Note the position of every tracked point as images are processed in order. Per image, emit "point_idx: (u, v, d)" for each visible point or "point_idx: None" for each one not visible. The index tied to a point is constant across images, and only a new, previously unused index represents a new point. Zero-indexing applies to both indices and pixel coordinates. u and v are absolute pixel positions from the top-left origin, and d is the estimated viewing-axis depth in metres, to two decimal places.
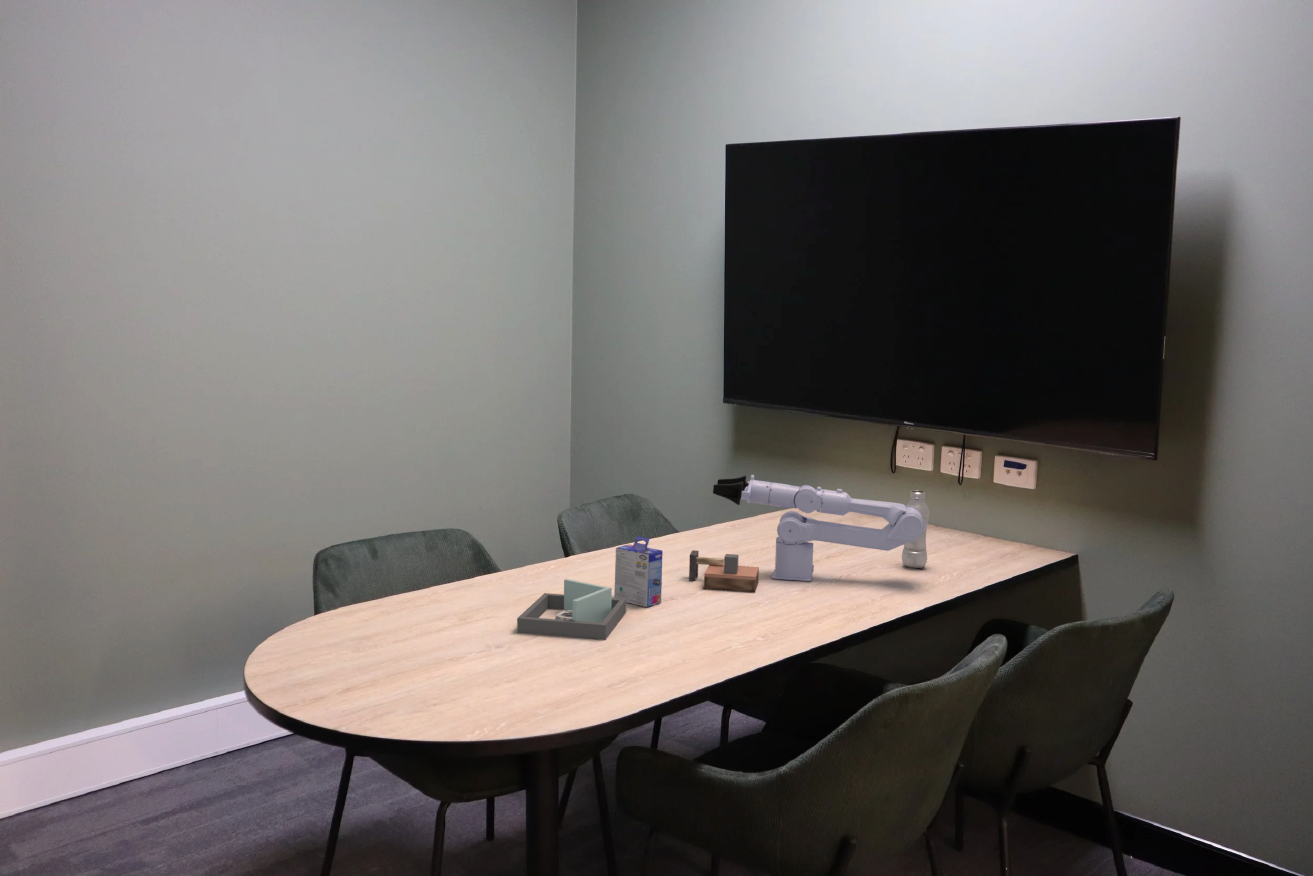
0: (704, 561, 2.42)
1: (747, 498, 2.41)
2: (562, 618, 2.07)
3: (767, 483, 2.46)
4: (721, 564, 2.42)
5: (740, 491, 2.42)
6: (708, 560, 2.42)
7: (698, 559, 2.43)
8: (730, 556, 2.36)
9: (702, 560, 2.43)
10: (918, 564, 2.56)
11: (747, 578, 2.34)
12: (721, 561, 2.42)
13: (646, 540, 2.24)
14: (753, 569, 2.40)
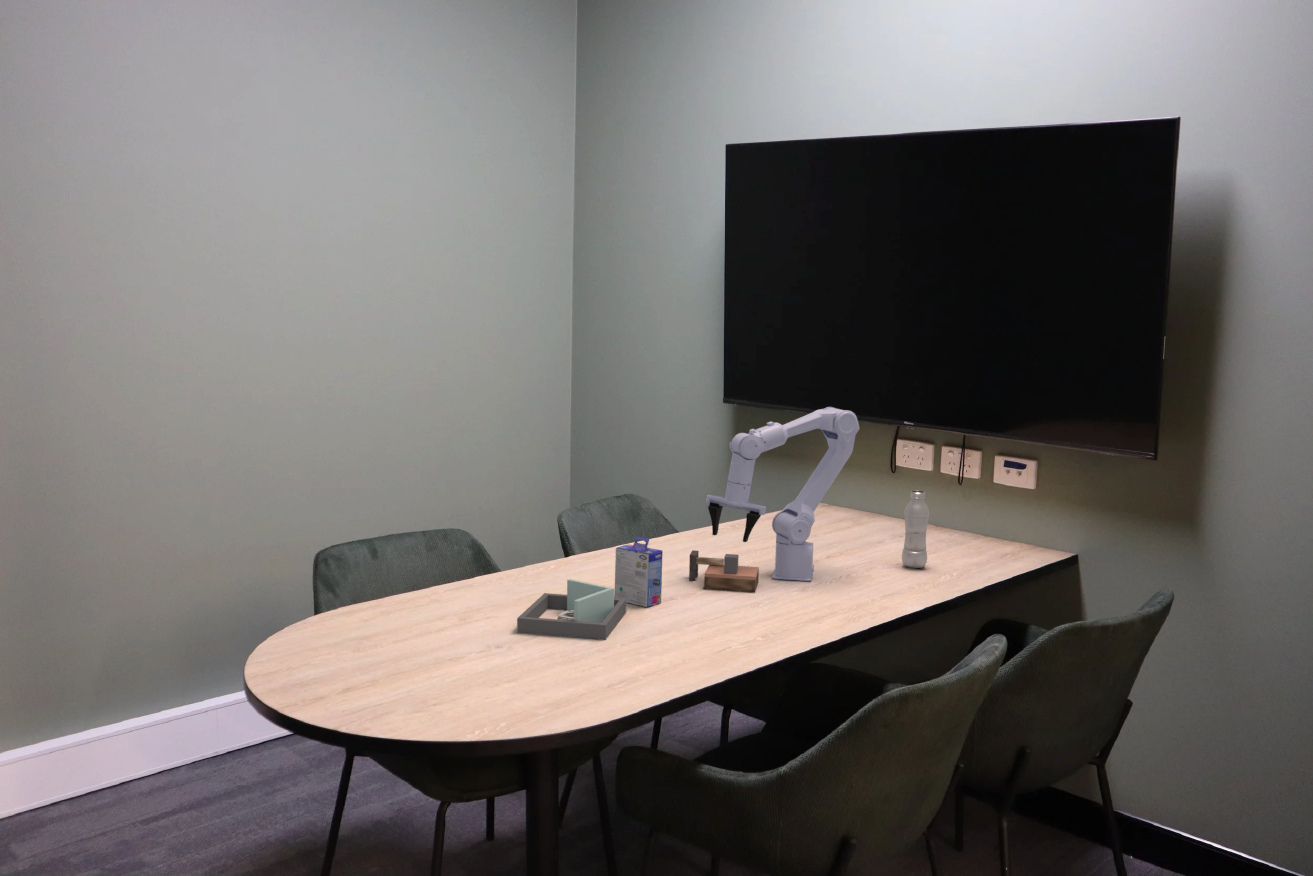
0: (704, 561, 2.42)
1: (765, 508, 2.39)
2: (564, 618, 2.07)
3: (740, 487, 2.38)
4: (721, 564, 2.42)
5: (758, 515, 2.39)
6: (708, 560, 2.42)
7: (698, 559, 2.43)
8: (730, 556, 2.36)
9: (702, 560, 2.43)
10: (918, 564, 2.56)
11: (747, 578, 2.34)
12: (721, 561, 2.42)
13: (646, 540, 2.24)
14: (753, 569, 2.40)
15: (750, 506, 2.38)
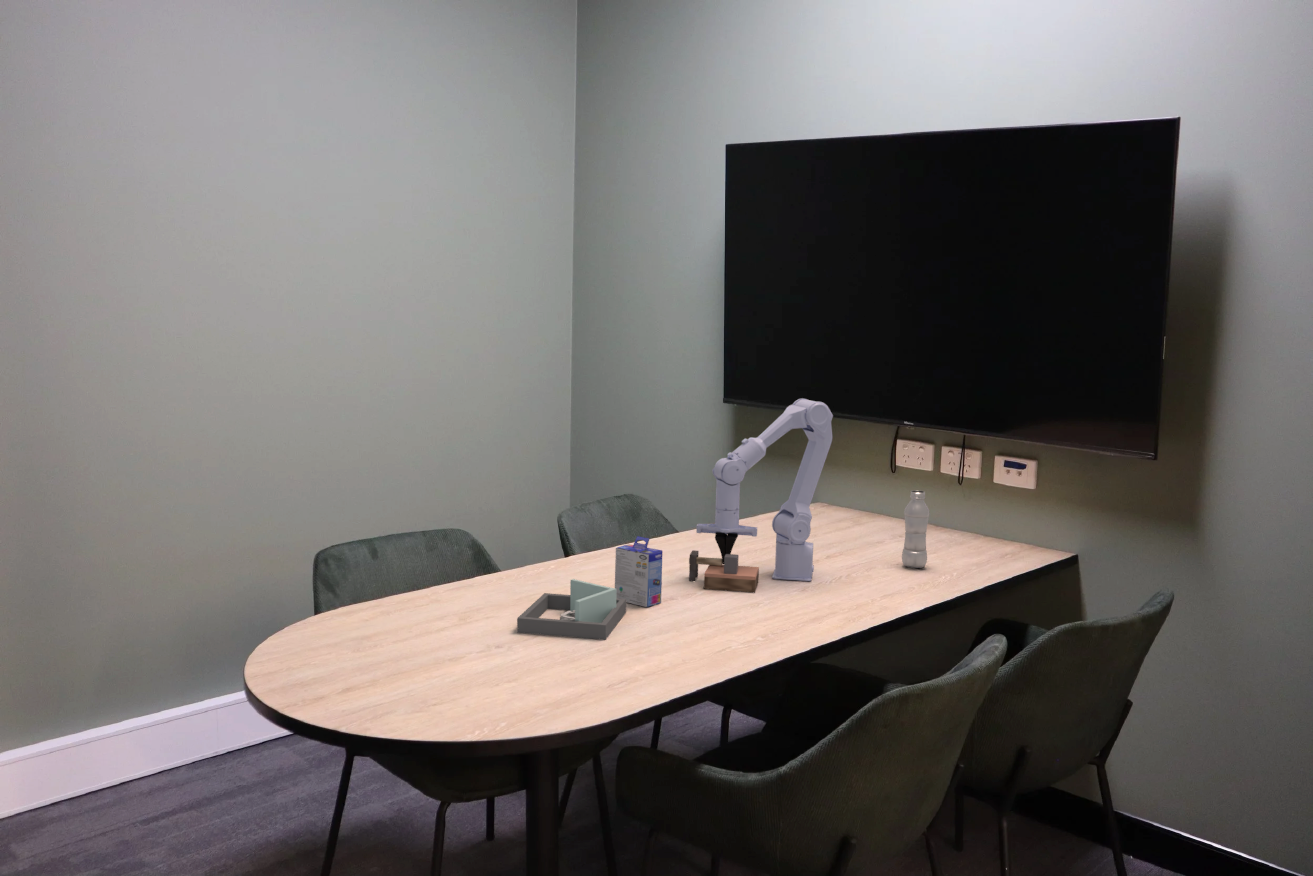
0: (702, 561, 2.43)
1: None
2: (566, 618, 2.07)
3: (730, 514, 2.38)
4: (720, 564, 2.42)
5: None
6: (707, 560, 2.42)
7: (697, 559, 2.43)
8: (730, 556, 2.36)
9: (701, 560, 2.43)
10: (918, 564, 2.56)
11: (747, 578, 2.34)
12: (720, 561, 2.42)
13: (646, 540, 2.24)
14: (753, 569, 2.40)
15: (742, 530, 2.39)
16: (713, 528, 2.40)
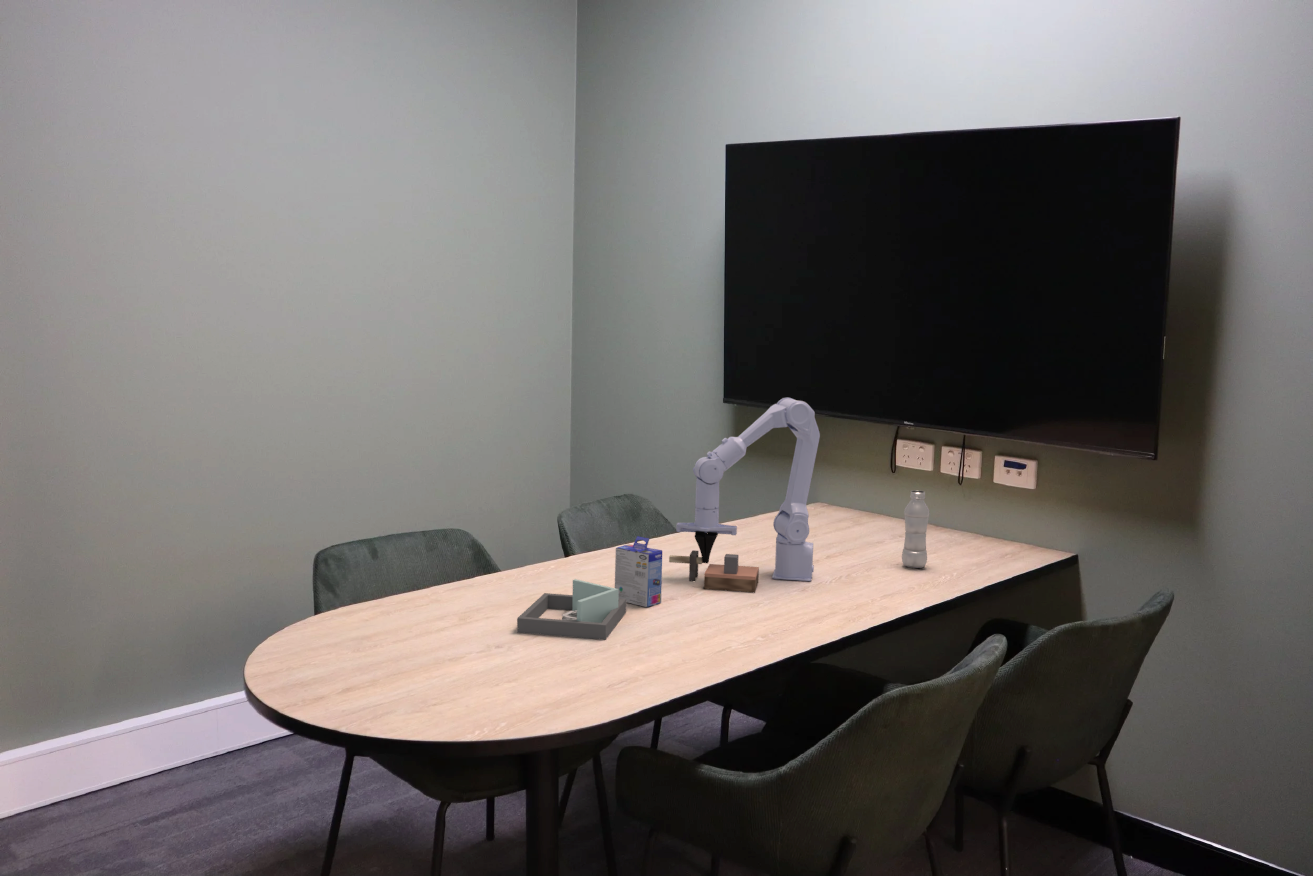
0: (682, 560, 2.43)
1: (736, 527, 2.41)
2: (568, 618, 2.07)
3: (709, 513, 2.39)
4: (699, 563, 2.43)
5: (716, 535, 2.41)
6: (687, 559, 2.43)
7: (677, 558, 2.44)
8: (730, 556, 2.36)
9: (681, 559, 2.44)
10: (918, 564, 2.56)
11: (747, 578, 2.34)
12: (699, 560, 2.43)
13: (646, 540, 2.24)
14: (753, 569, 2.40)
15: (722, 529, 2.40)
16: (693, 527, 2.41)
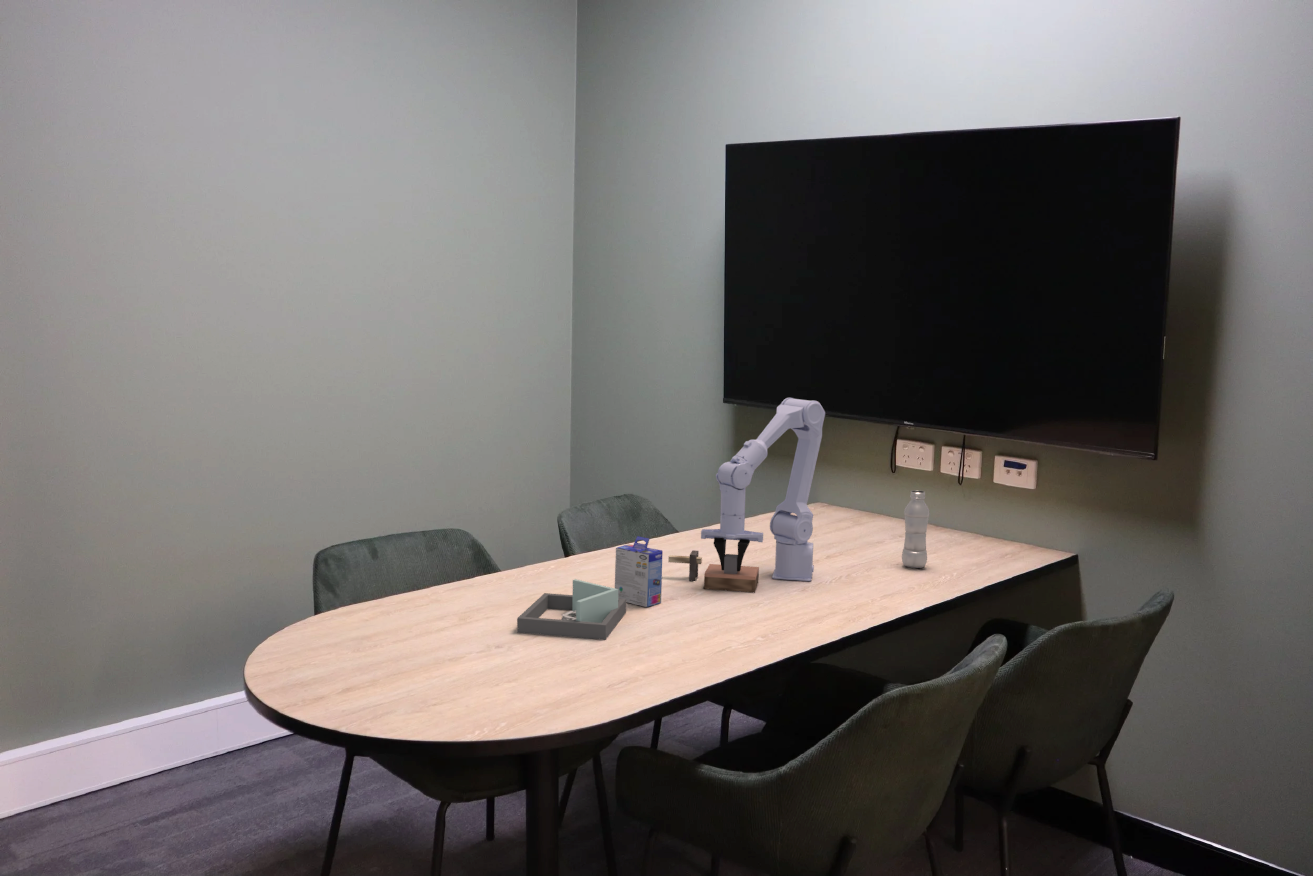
0: (682, 560, 2.43)
1: None
2: (568, 618, 2.07)
3: (735, 519, 2.32)
4: (699, 563, 2.43)
5: None
6: (686, 559, 2.43)
7: (676, 558, 2.44)
8: (730, 556, 2.36)
9: (680, 559, 2.44)
10: (918, 564, 2.56)
11: (747, 578, 2.34)
12: (699, 560, 2.43)
13: (646, 540, 2.24)
14: (753, 569, 2.40)
15: (748, 536, 2.33)
16: (718, 534, 2.34)
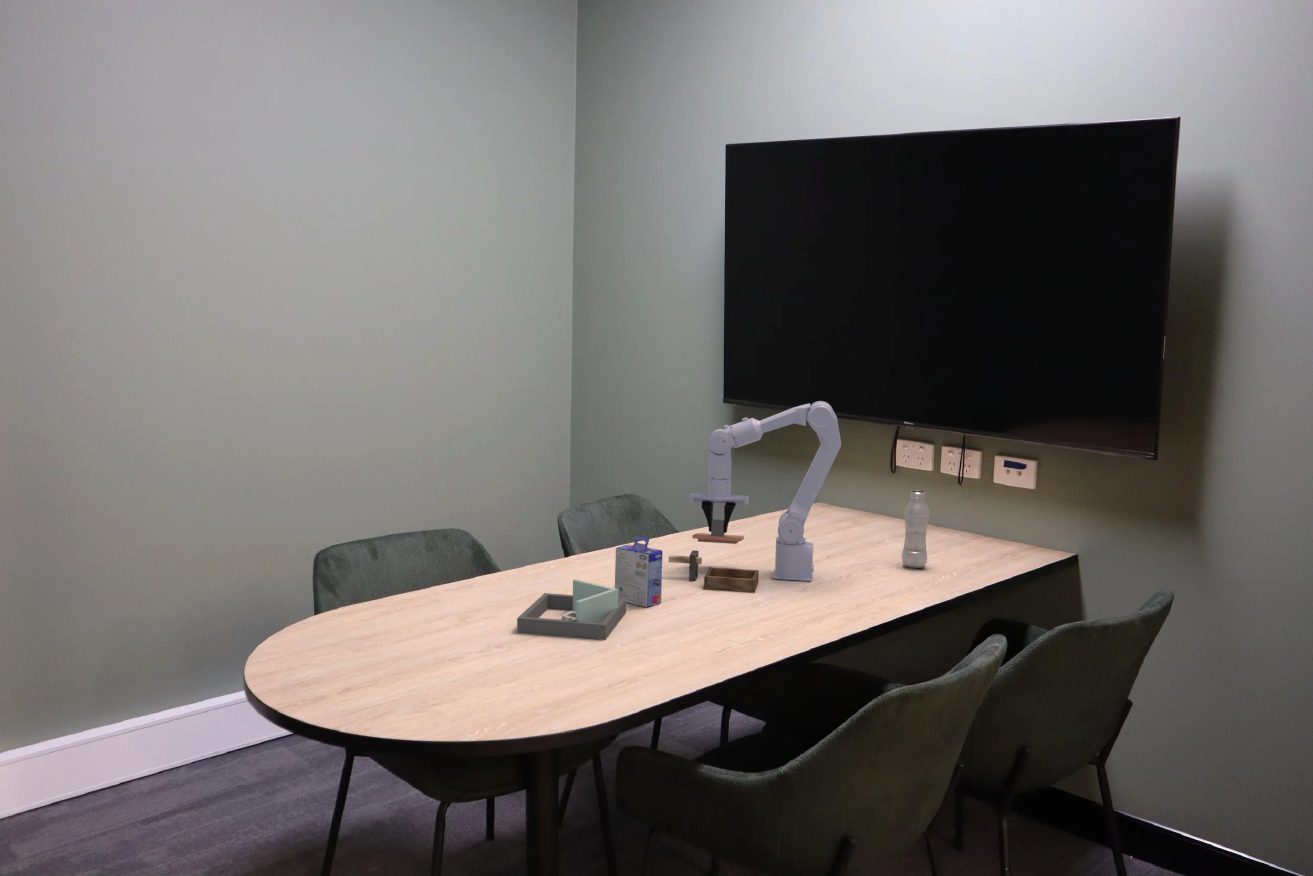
0: (682, 560, 2.43)
1: None
2: (568, 618, 2.07)
3: (722, 483, 2.45)
4: (699, 563, 2.43)
5: (734, 505, 2.47)
6: (686, 559, 2.43)
7: (676, 558, 2.44)
8: (717, 520, 2.49)
9: (680, 559, 2.44)
10: (918, 564, 2.56)
11: (733, 539, 2.46)
12: (699, 560, 2.43)
13: (646, 540, 2.24)
14: None
15: (734, 498, 2.46)
16: (706, 497, 2.47)
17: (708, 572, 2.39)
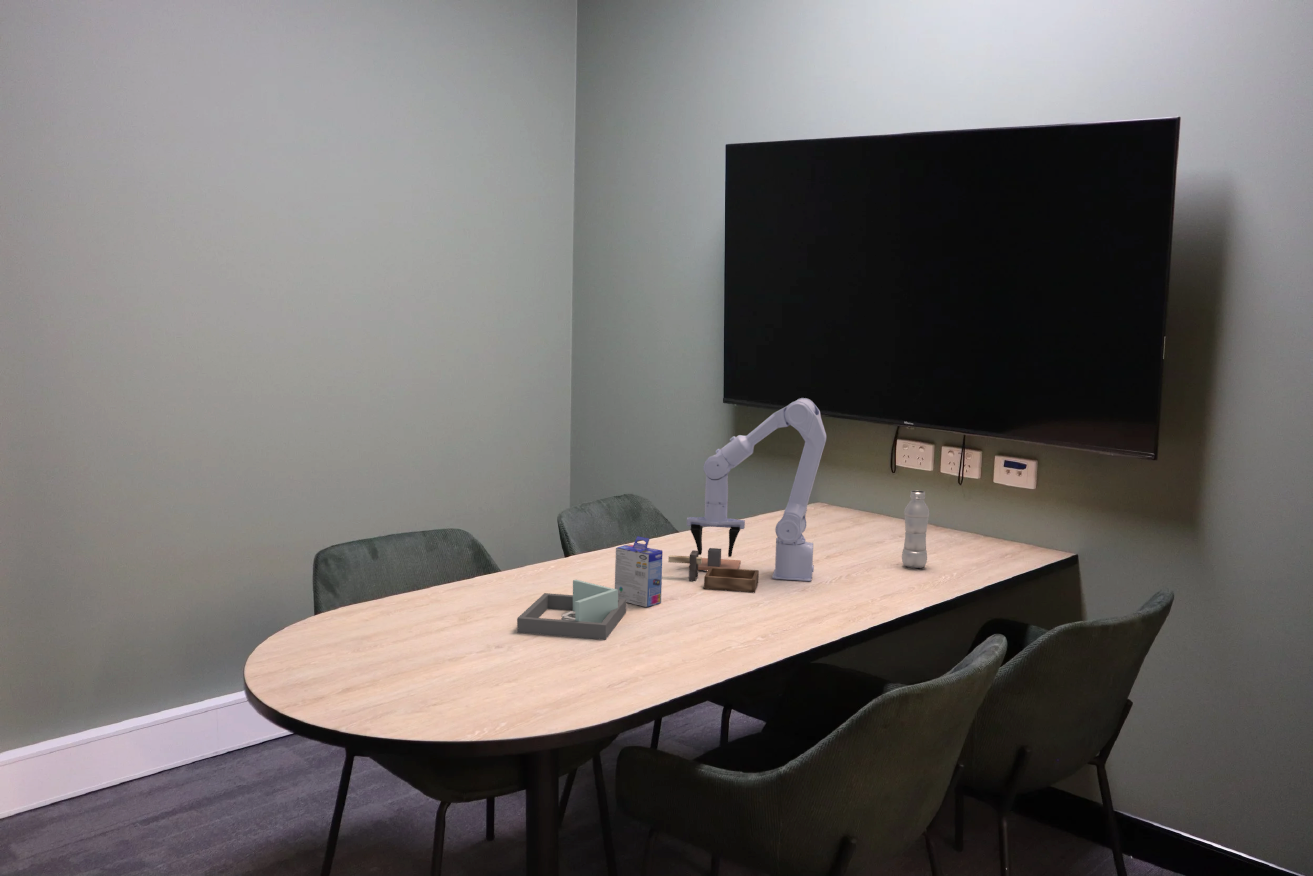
0: (682, 560, 2.43)
1: (744, 522, 2.51)
2: (567, 619, 2.07)
3: (718, 507, 2.49)
4: (699, 563, 2.43)
5: (739, 530, 2.51)
6: (686, 559, 2.43)
7: (676, 558, 2.44)
8: (713, 550, 2.52)
9: (680, 559, 2.44)
10: (918, 564, 2.56)
11: None
12: (699, 560, 2.43)
13: (646, 540, 2.24)
14: (735, 562, 2.56)
15: (730, 523, 2.50)
16: (702, 521, 2.51)
17: (708, 572, 2.39)
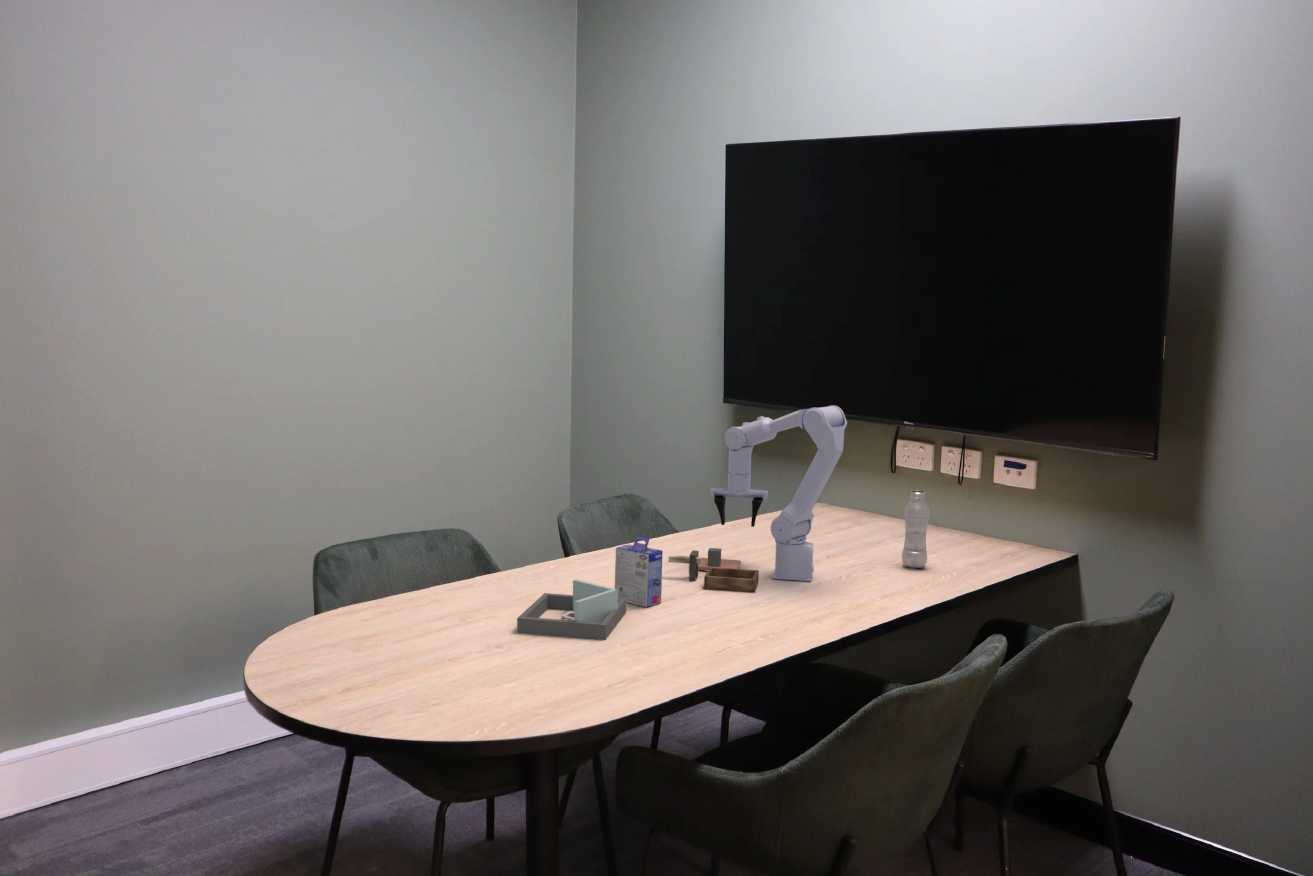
0: (682, 560, 2.43)
1: (767, 492, 2.55)
2: (567, 618, 2.07)
3: (742, 478, 2.53)
4: (699, 563, 2.43)
5: (762, 500, 2.55)
6: (686, 559, 2.43)
7: (676, 558, 2.44)
8: (713, 550, 2.52)
9: (680, 559, 2.44)
10: (918, 564, 2.56)
11: None
12: (699, 560, 2.43)
13: (646, 540, 2.24)
14: (735, 562, 2.56)
15: (754, 493, 2.54)
16: (726, 491, 2.55)
17: (708, 572, 2.39)
